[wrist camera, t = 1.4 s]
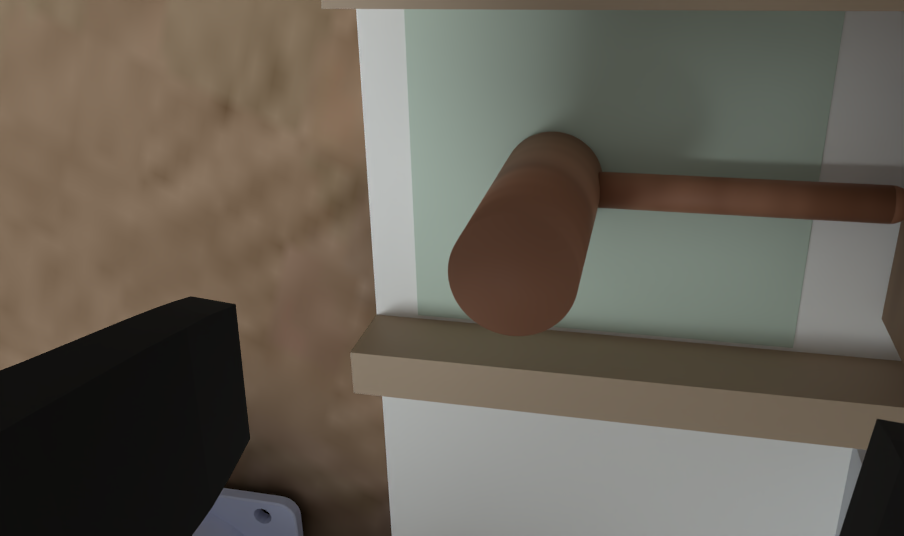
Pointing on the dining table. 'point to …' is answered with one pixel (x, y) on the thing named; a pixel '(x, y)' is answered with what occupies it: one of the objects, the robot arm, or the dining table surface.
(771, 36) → the wooden frame
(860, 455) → the grey block
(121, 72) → the dining table surface
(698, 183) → the wooden mallet
